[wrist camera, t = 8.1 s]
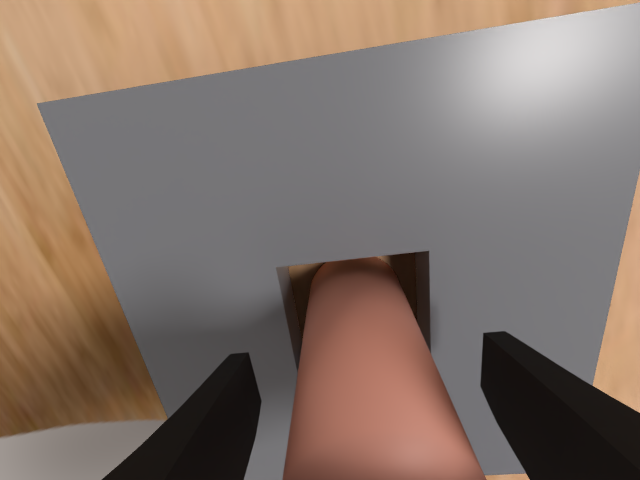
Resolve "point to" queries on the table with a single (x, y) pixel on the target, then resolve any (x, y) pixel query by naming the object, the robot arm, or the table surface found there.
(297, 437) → the peg
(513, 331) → the socket plate
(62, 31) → the table surface
